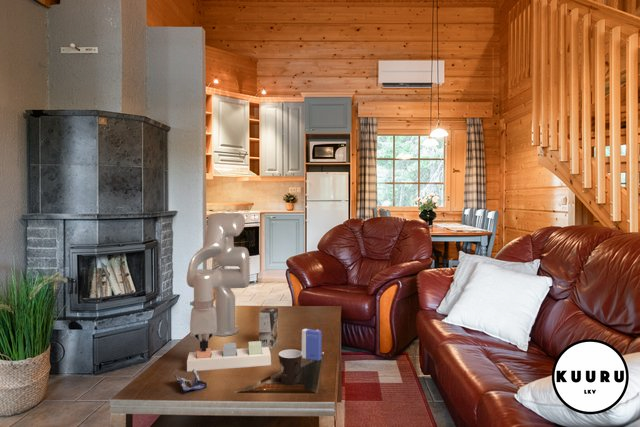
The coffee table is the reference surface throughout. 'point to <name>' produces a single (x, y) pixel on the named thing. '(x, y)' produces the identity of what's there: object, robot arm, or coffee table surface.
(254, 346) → the sage-green button
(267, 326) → the coffee box
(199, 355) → the terracotta button
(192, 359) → the button console
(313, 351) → the walkman
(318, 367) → the coffee table surface
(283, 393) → the coffee table surface
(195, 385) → the snack package
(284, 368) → the coffee mug
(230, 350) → the slate-grey button
